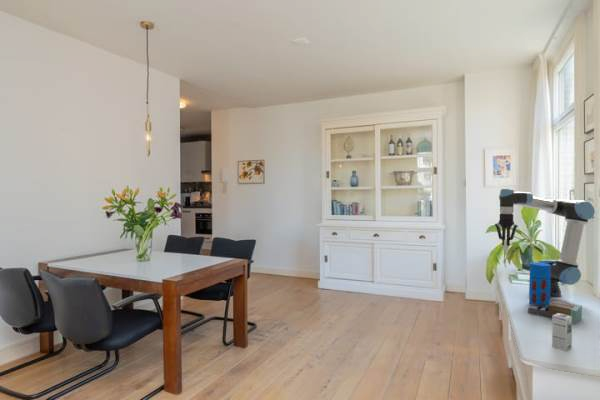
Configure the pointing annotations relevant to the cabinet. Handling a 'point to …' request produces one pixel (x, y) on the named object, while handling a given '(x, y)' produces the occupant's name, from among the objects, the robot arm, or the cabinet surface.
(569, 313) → the slab
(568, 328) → the syrup box
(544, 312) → the roller bed
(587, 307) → the cabinet surface
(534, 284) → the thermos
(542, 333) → the cabinet surface
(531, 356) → the cabinet surface
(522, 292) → the cabinet surface
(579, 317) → the stop block
